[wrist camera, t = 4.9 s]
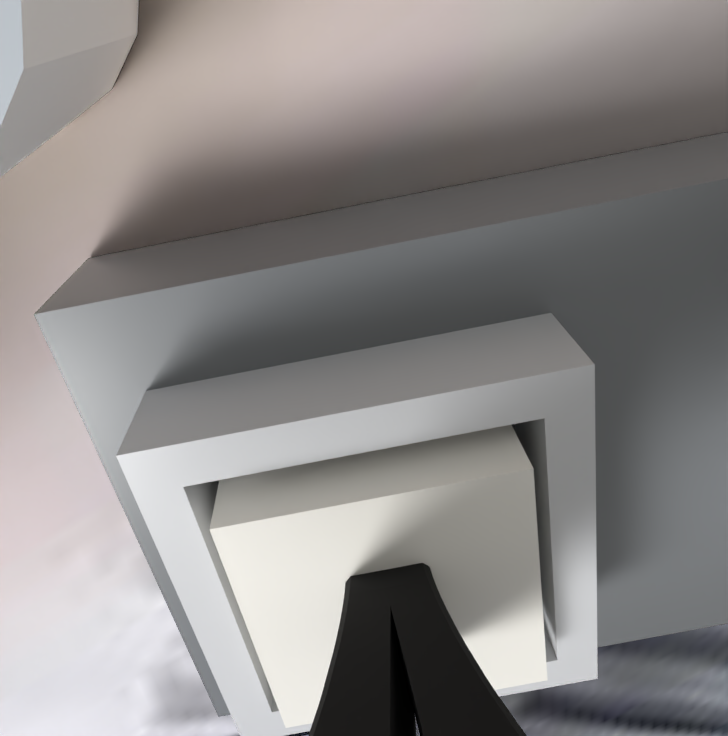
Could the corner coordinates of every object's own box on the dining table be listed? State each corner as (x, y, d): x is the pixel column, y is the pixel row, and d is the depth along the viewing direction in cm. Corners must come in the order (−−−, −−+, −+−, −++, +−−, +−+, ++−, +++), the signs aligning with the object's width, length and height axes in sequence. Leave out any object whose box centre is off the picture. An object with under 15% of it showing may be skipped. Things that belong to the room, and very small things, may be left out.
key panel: (994, 476, 18) (1213, 620, 14) (231, 618, 19) (207, 802, 14) (1149, 48, 13) (1576, 59, 9) (88, 258, 13) (-21, 370, 9)
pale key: (522, 612, 14) (547, 680, 12) (288, 655, 14) (285, 727, 12) (505, 412, 11) (533, 468, 10) (222, 466, 11) (208, 529, 10)
